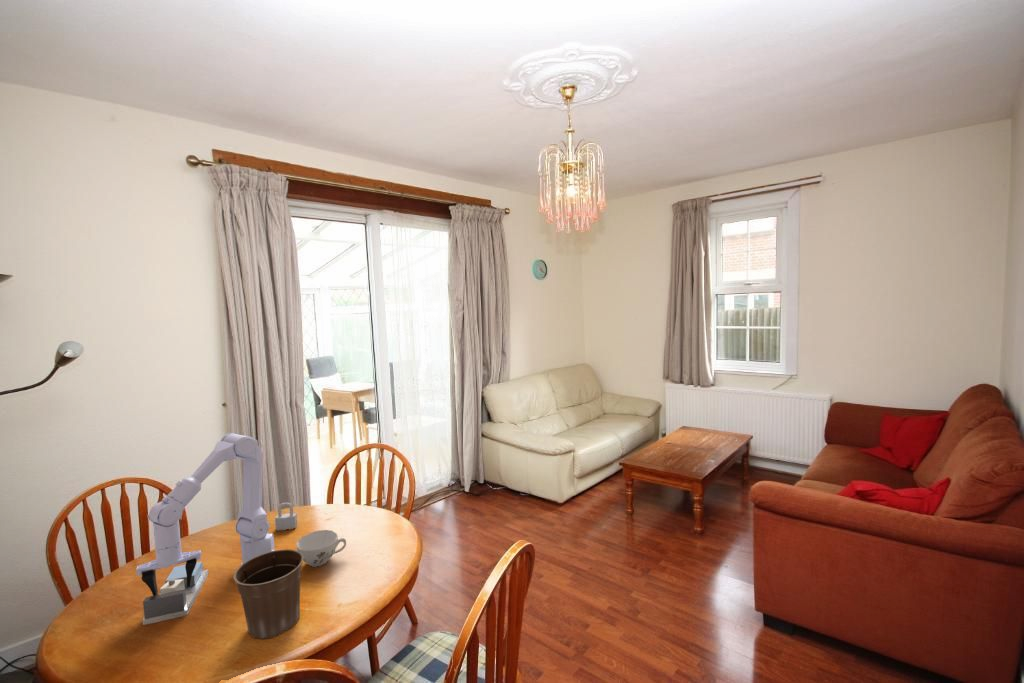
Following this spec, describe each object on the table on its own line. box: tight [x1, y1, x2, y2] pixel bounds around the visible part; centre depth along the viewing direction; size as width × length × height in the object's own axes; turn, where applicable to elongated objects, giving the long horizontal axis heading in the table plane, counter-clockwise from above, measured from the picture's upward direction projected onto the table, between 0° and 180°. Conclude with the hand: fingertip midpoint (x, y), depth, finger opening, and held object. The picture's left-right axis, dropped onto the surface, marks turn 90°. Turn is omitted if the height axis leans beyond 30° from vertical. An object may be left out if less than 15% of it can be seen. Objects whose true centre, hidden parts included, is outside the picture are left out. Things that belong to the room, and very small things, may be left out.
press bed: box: [142, 568, 209, 626], centre depth 132 cm, size 10×21×6 cm, turn 20°
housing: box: [159, 579, 185, 594], centre depth 129 cm, size 4×4×6 cm
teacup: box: [295, 529, 347, 568], centre depth 149 cm, size 15×12×8 cm
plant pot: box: [233, 548, 304, 640], centre depth 120 cm, size 16×16×16 cm
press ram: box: [164, 560, 204, 587], centre depth 138 cm, size 7×8×3 cm
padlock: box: [274, 502, 298, 531], centre depth 173 cm, size 7×4×10 cm, turn 99°
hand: (172, 590), depth 129 cm, fingers open, 7 cm apart
